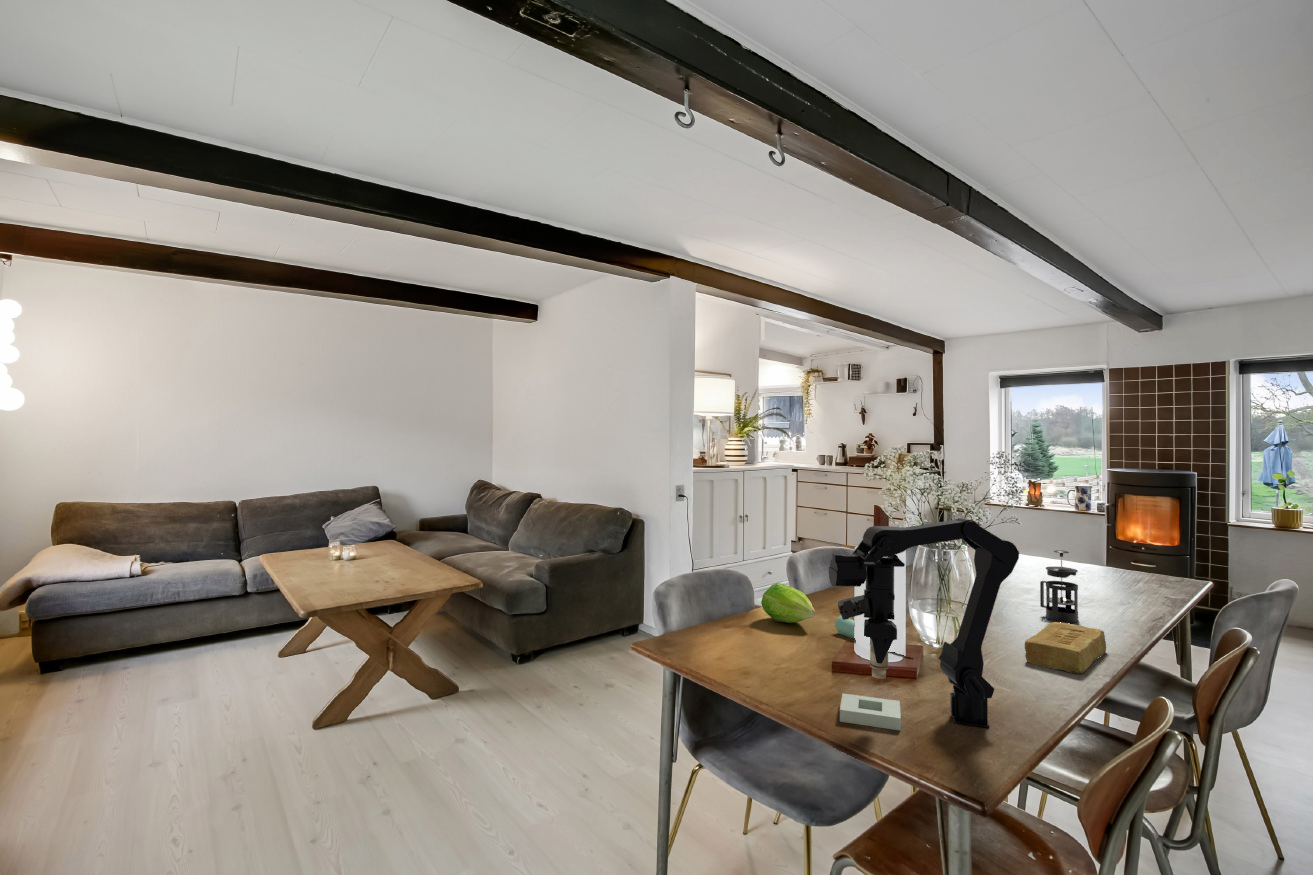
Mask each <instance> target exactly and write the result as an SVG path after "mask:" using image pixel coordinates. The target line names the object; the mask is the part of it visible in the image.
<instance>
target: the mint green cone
mask: <svg viewBox="0 0 1313 875" xmlns="http://www.w3.org/2000/svg"><path fill="white" fill-rule="evenodd" d="M855 622H856V620H853V619H851V617H850V618H849V619H846V620H843V619H842V616H841V615H839V616H838V617H837V618H836V620H835V623H834V627H835V630H836V632H837V634H840V635H841V636H842V635H843V636H844V637H845V636H846V637H848V638H850V639H854V627H855ZM854 640H855V639H854Z"/></svg>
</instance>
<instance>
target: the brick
mask: <svg viewBox="0 0 1313 875" xmlns="http://www.w3.org/2000/svg"><path fill="white" fill-rule="evenodd" d="M1024 650H1025V653H1024V654H1025V655H1024V656H1025V660H1026V662H1028V663H1029V664H1032V665H1035V664H1036V665H1035V666H1039V665H1040V667H1043V666H1045V667H1044V668H1047V669H1051V668H1054V669H1053V670H1055V669H1059V670H1058V671H1063V670H1064V671H1063V672H1067V671H1068V672H1067V673H1069V672H1072V673H1071V674H1075V673H1081V674H1083V673H1085V672H1086V671H1087V670H1088V669H1089V668H1090V667H1091V666H1092V665H1093V663H1094V662H1095V661H1097V660H1098V659H1099V658H1098V657H1100V656H1102V655H1103V654H1104V653H1105V654H1106V652H1107V642H1106V635H1105V631H1104V630H1103V629H1101V628H1095V627H1087V626H1083V625H1079V624H1078V625H1077V624H1068V623H1060V622H1053V621H1051V622H1050V623H1049V624H1047V625H1046V626H1045V627H1044V628H1042V629H1041V630H1040V631H1038V632H1037V633H1036V634H1035V635H1032V636H1030V637H1029V638H1027V639H1025V641H1024ZM1105 654H1104V655H1105ZM1104 655H1103V656H1104ZM1103 656H1102V657H1103ZM1097 658H1098V659H1097ZM1100 658H1101V657H1100ZM1096 659H1097V660H1096ZM1094 660H1095V661H1094ZM1093 661H1094V662H1093ZM1092 662H1093V663H1092ZM1091 664H1092V665H1091ZM1090 665H1091V666H1090ZM1089 666H1090V667H1089ZM1088 667H1089V668H1088ZM1087 668H1088V669H1087ZM1086 669H1087V670H1086ZM1085 670H1086V671H1085ZM1084 671H1085V672H1084Z"/></svg>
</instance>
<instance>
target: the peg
mask: <svg viewBox="0 0 1313 875" xmlns="http://www.w3.org/2000/svg"><path fill="white" fill-rule="evenodd" d="M869 649H870V650H869V666H870V667H871V676H872V678H875V679H879V680H881V679H882V680H884V679H886V678H887V670H888V669H889V651H888V652H887V654H886V656H885V658H884V660H883V663H882V664H880V663H877V662H876V657H875V652H874V647H873V642H872V639H871V638H870V644H869Z"/></svg>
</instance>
